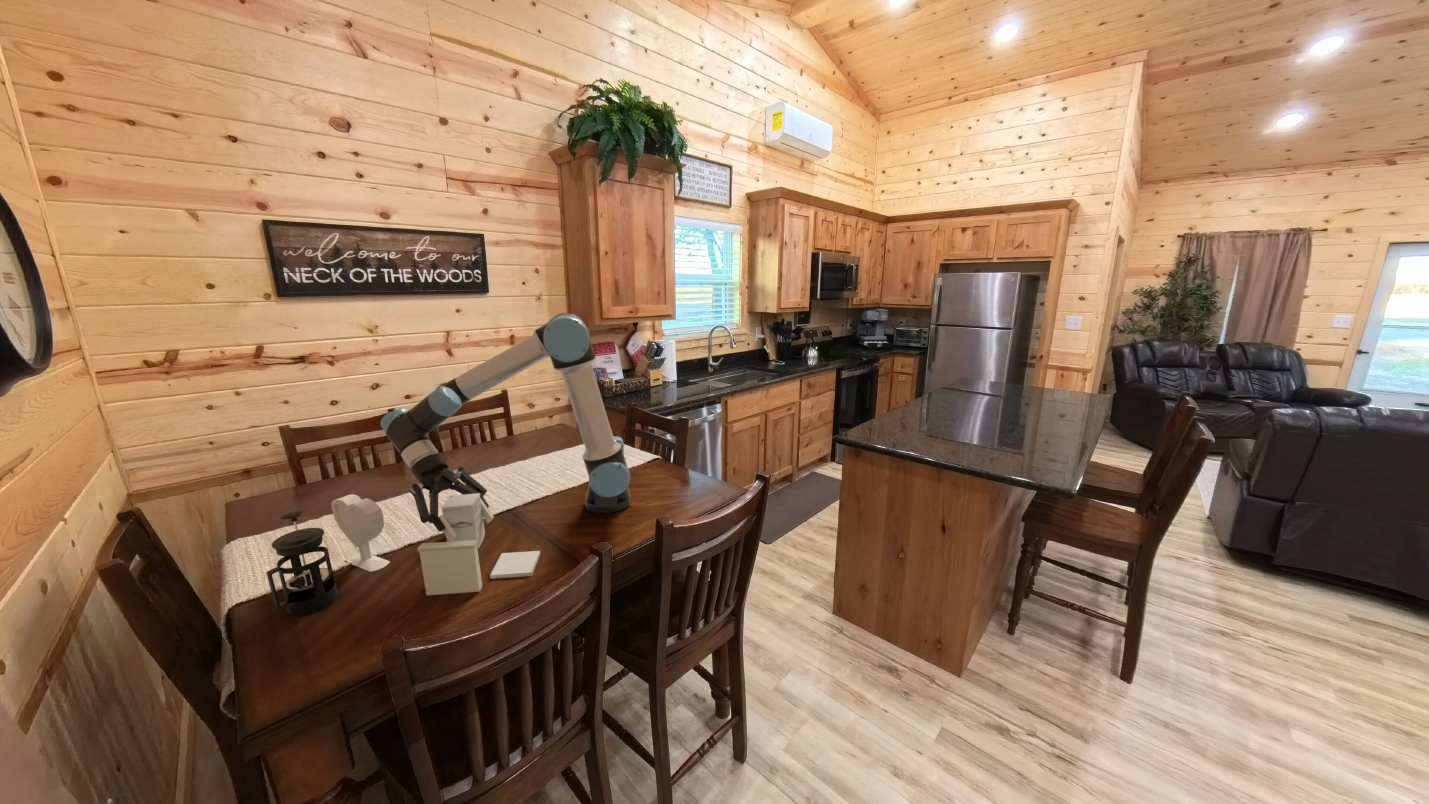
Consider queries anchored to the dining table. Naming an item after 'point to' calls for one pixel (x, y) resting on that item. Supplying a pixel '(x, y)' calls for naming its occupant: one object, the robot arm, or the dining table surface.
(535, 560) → the pad
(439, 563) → the beige square panel
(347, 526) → the heart sculpture
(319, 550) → the french press
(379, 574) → the dining table surface
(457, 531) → the supplement box
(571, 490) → the dining table surface
